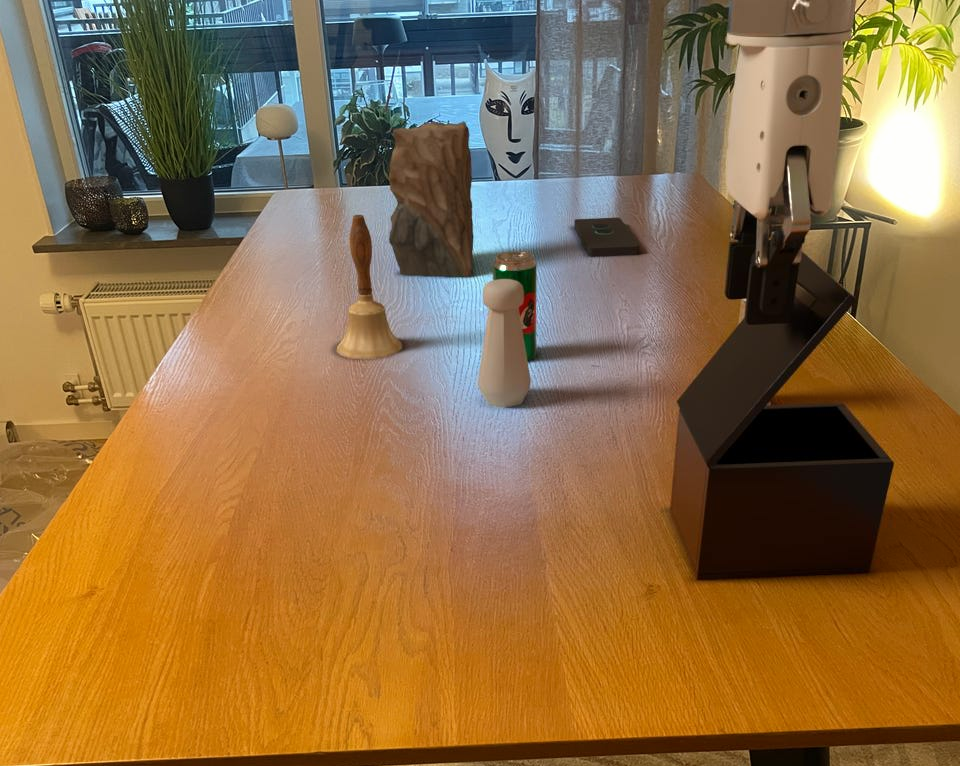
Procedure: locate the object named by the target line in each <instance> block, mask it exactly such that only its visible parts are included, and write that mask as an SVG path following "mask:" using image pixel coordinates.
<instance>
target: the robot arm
mask: <svg viewBox="0 0 960 766" xmlns="http://www.w3.org/2000/svg"><path fill="white" fill-rule="evenodd" d="M856 5H857V0H729V8H728V19H727V29H726V30H727V31H726V32H727V33H726V44H728V45H731V46H739V49H738V57H737V62H736V64H737V65H736V69H735V72H734V76H735V77H734V84H733V90H732V99H731V106H730V116H729V124H728V135H727V142H726V143H727V145H726V155H725V156H726V157H725V188H726V191H727V193H728V194H729V195H730V197H732V198H733V199H734V201H733V204H732V208H733V212H732V213H733V214H732V219H731V224H730V231H729V233H730V236H729V237H730V240H731V241H729V243H728V252H727V253H728V254H727V263H726V272H725V273H726V275H725V284H724V297H726V298H727V299H728V300H734V301H735V300H741V299H746V306H745V316H744V319H745V321H746V323H747V324H749V325H762V324H781V323H788V322H790V321H791V319H792V314H793V307H794V300H795V292H796V285H797V278H798V270H799V265H800V262H801V257H802V251H803V244H804V243H805V242H806V237H807V236H808V234H809V232H810V230H811V227H812V226H811V225H812V218H811V217H812V216H813V217H814V218H815V217H816V218H822V217H823V216H825V215H826V214H827V213H828V212H829V210H830V209H831V206H832V205H831V204H832V201H833V200H832V199H833V194H834V193H833V192H834V184H835V175H836V168H837V167H836V164H837V157H838V148H839V147H838V146H839V139H840V138H839V137H840V128H841V119H842V118H841V117H842V107H843V105H842V103H843V92H844V91H843V89H844V88H843V87H844V43H846V42H849V41H851V39H852V35H853V34H852V33H853V26H854V20H855V19H854V18H855V12H856V7H857V6H856ZM778 207H783V208H784V209H783V210H784V214H782V213H781V214H777V210H778ZM775 226H781V228H780V229H775V230H774V231H773V228H774V227H775ZM755 251H756V264H751V257H752V255H753V253H754V252H755Z"/></svg>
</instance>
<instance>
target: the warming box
mask: <svg viewBox="0 0 960 766" xmlns="http://www.w3.org/2000/svg"><path fill="white" fill-rule="evenodd" d="M677 415H678V416H677V417H678V418H677V428H676V441H675V450H674V461H673V471H672V472H673V474H672V484H671V493H670V494H671V495H670V507H669V513H670V516H671V518H672V521H673V523H674V526H675V528H676V531H677V533H678V536H679V539H680V541H681V544H682V546H683V549H684V552H685V554H686V557H687V560H688V561H689V564H690V566H691V569H692V571H693V574H694V577H695V580H696V581H718V580H742V579H743V580H744V579H745V580H746V579H765V578H767V579H768V578H791V577H817V576H818V577H819V576H841V575H845V576H846V575H866V574H870V571H871V567H872V562H873V558H874V554H875V549H876V545H877V540H878V535H879V531H880V527H881V523H882V519H883V513H884V509H885V506H886V501H887V496H888V492H889V487H890V483H891V478H892V474H893V469H894V465H895V461H894V460H893V459H892V458H891V456H889V454H888V453H887V452H886V451H885V450H884V449H883V448H882V447H881V445H880V444H879V442H878V441H876V439H875V438H874V437H873V436H872V434H871V433H870V432H869V431H868V430H867V429H866V427H864V425H863V424H862V423H861V422H860V420H859V419H858V418H857V417H856V416H855V415H854V414H853V412H851V410H850V409H849V408H848V407H847V406H846V404H845V403H844V402H818V403H817V402H816V403H795V404H794V403H793V404H792V403H791V404H771V405H766V406H765V407H764V408H763V410H762V411H761V412H760V413H759V414H758V415H757V417H756V418H755V419H754V420H753V421H752V422H751V423H750V425H749V426H748V427H747V428H746V429H745V430H744V432H743V433H742V434H741V435H740V436H739V437H738V439H737V440H736V441H735V442H734V443H733V444H732V446H731V447H730V448H729V449H728V450H727V451H726V452H725V454H724V455H723V456H722V457H721V458H720V459H719V461H718V462H717V463H716V464H715V465H714V466H712V465H710V464H709V463H707V462H706V460H705V458H704V456H703V454H702V452H701V450H700V448H699V446H698V444H697V442H696V440H695V438H694V436H693V434H692V432H691V430H690V428H689V426H688V424H687V422H686V420H685V418H684V416H683V414H682V412H681V410H680V408H678V414H677Z"/></svg>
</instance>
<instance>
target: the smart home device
mask: <svg viewBox="0 0 960 766" xmlns="http://www.w3.org/2000/svg"><path fill="white" fill-rule="evenodd" d="M573 224H574V227H573V228H574V231H575V233H576V235H577V237H578V238H579V241H580V242H581V245H582V246H583V248H584V250H585V252H586V254H587V256H588V257H590V258H599V257H600V258H602V257H603V258H604V257H624V256H626V257H627V256H639V253H640V244H639V242H638V241H637V239H636V238H635V237H634V235H633V234H632V233H631V231H630V229H629V228H628V227H627V226H626V224H625V223H624V221H623V220H622V219H621V217H598V218H595V217H594V218H575V219H574V222H573Z"/></svg>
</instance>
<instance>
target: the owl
mask: <svg viewBox="0 0 960 766" xmlns="http://www.w3.org/2000/svg"><path fill="white" fill-rule="evenodd" d="M392 134H393V138H394V141H395V142H394V143H395V144H394V148H393V149H392V153H391V155H390V160H389V164H388V165H389V171H388V183H389V190H390V192H391V193H392V195H393V196H394V198H395V199H396V202H397V203H396V207H395V209H394V211H393V212H392V214H391V216H390V223H391V228H390V231H389V237H388V243H389V245H390V246H391V248H392V251H393V254H394V258H395V260H396V263H397V265H398V269H399V275H402V276H407V277H435V278H437V277H440V278H472V270H473V267H474V261H473V260H474V255H473V251H474V223H473V222H474V221H473V202H472V197H471V190H472V182H473V175H472V172H473V171H472V169H473V168H472V155H471V149H470V144H469V143H470V130H469V127H468V126H467V122H466V121H464V120H463V121H461V122H458V123H451V122H449V123H444V122H439V121H437V122H435V121H431V122H426V123H422V124H421V125H420V126H417V127H415V126H414V127H412V128H407V127H399V128H394V129H393V130H392Z"/></svg>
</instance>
